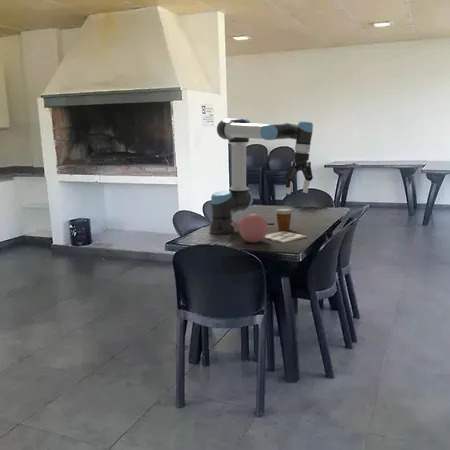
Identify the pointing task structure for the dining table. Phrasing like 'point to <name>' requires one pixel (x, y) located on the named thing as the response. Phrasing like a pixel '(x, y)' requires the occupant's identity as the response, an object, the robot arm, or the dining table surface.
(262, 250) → the dining table surface
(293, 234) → the board
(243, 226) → the balloon
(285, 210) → the disposable coffee cup
